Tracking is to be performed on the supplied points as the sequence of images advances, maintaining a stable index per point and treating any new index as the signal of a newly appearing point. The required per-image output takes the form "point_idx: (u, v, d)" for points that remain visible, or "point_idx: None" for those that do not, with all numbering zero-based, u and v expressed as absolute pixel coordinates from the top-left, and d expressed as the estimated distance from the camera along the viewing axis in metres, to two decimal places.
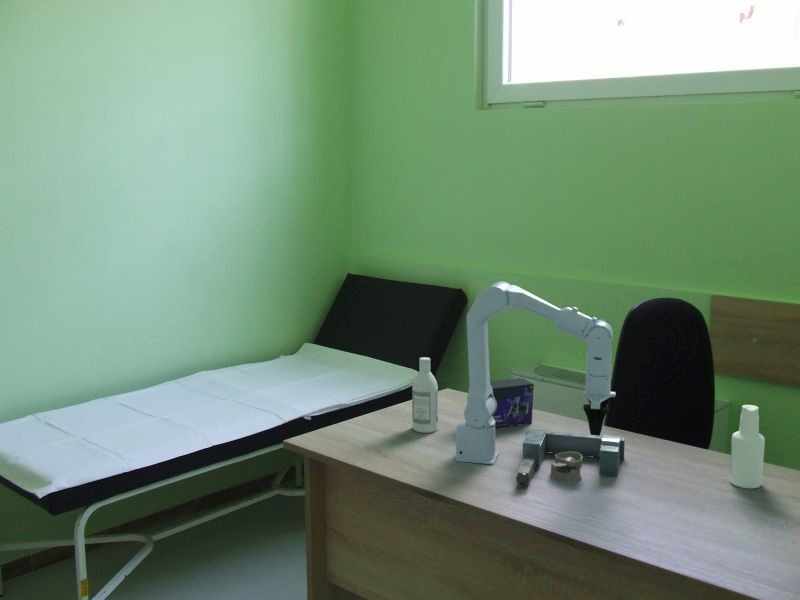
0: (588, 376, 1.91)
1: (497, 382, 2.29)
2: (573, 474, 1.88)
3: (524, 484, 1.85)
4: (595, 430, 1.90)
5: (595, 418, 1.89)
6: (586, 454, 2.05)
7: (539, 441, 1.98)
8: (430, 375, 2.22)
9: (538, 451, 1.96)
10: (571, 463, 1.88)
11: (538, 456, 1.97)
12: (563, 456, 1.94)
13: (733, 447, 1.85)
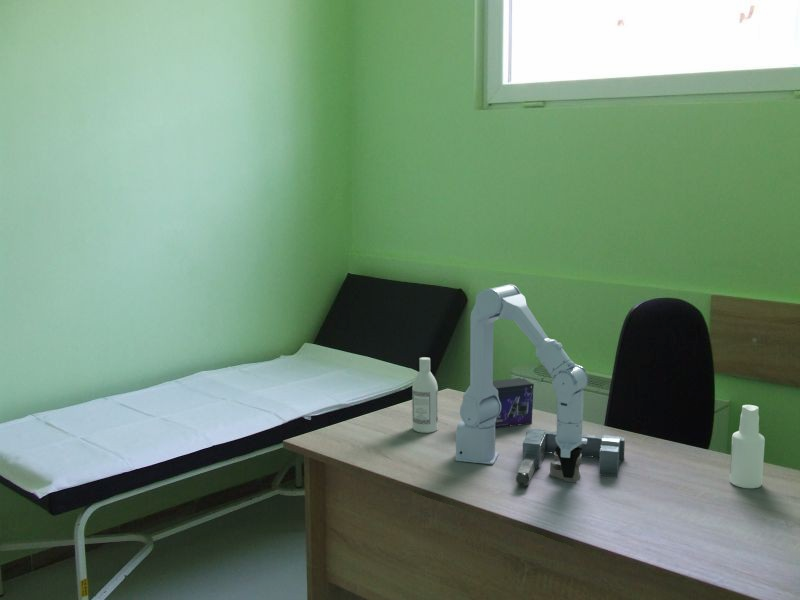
0: (559, 422, 1.85)
1: (497, 382, 2.29)
2: None
3: (524, 484, 1.85)
4: (568, 472, 1.88)
5: (568, 460, 1.87)
6: (586, 454, 2.05)
7: (539, 441, 1.98)
8: (430, 375, 2.22)
9: (538, 451, 1.96)
10: None
11: (538, 456, 1.97)
12: None
13: (733, 447, 1.85)
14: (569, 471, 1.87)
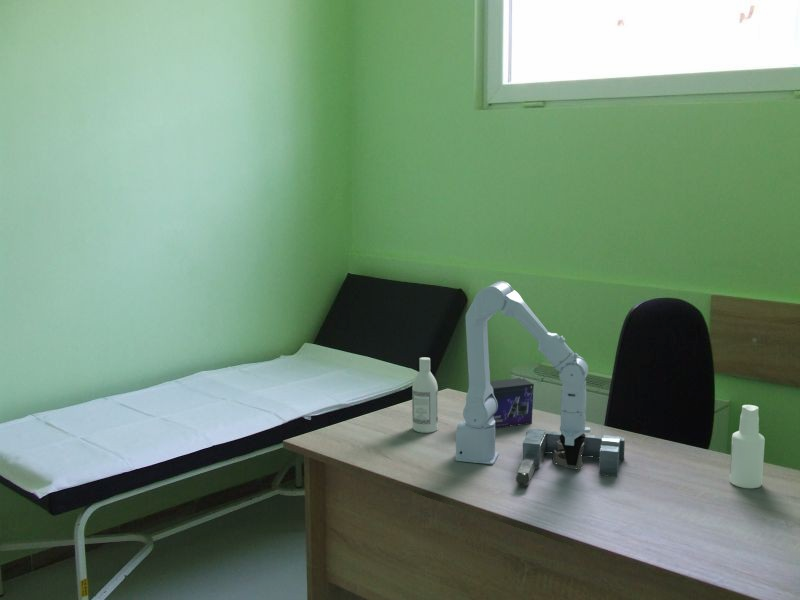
0: (563, 412, 1.92)
1: (497, 382, 2.29)
2: None
3: (524, 484, 1.85)
4: (571, 460, 1.95)
5: (571, 449, 1.95)
6: (586, 454, 2.05)
7: (539, 441, 1.98)
8: (430, 375, 2.22)
9: (538, 451, 1.96)
10: None
11: (538, 456, 1.97)
12: None
13: (733, 447, 1.85)
14: (573, 459, 1.95)
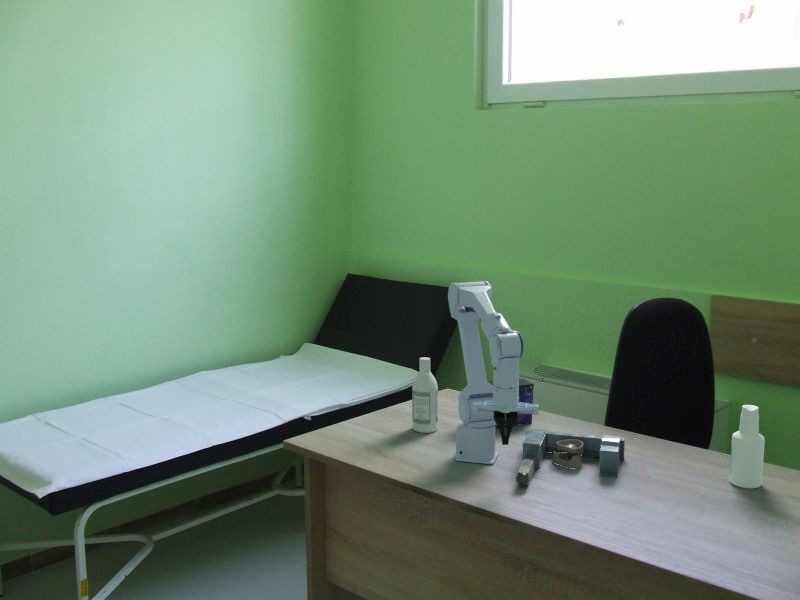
0: None
1: None
2: (575, 460, 1.97)
3: (524, 484, 1.85)
4: None
5: None
6: (586, 454, 2.05)
7: (539, 441, 1.98)
8: (430, 375, 2.22)
9: (538, 451, 1.96)
10: (573, 450, 1.97)
11: (538, 456, 1.97)
12: (564, 443, 2.02)
13: (733, 447, 1.85)
14: None
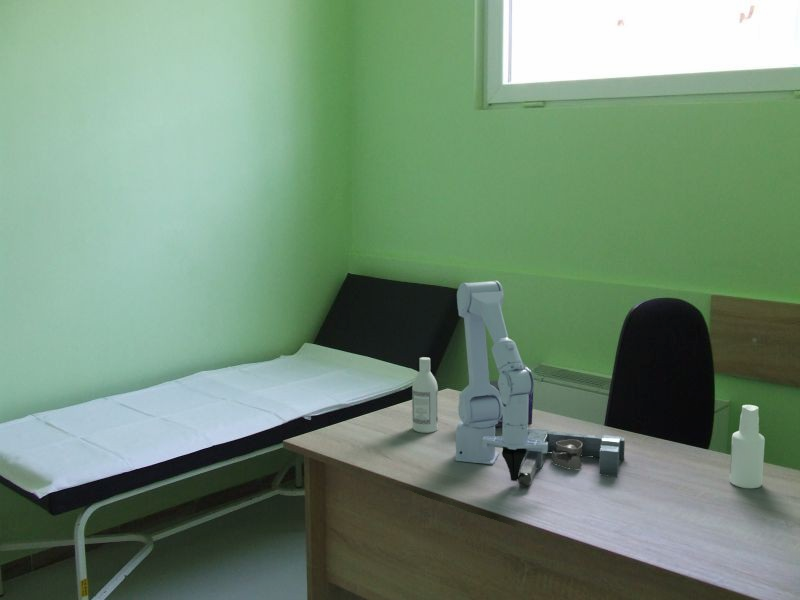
0: None
1: (497, 382, 2.29)
2: (574, 461, 1.96)
3: (526, 484, 1.85)
4: None
5: None
6: (586, 454, 2.05)
7: None
8: (430, 375, 2.22)
9: None
10: (572, 450, 1.96)
11: (540, 456, 1.96)
12: (563, 444, 2.02)
13: (733, 447, 1.85)
14: None
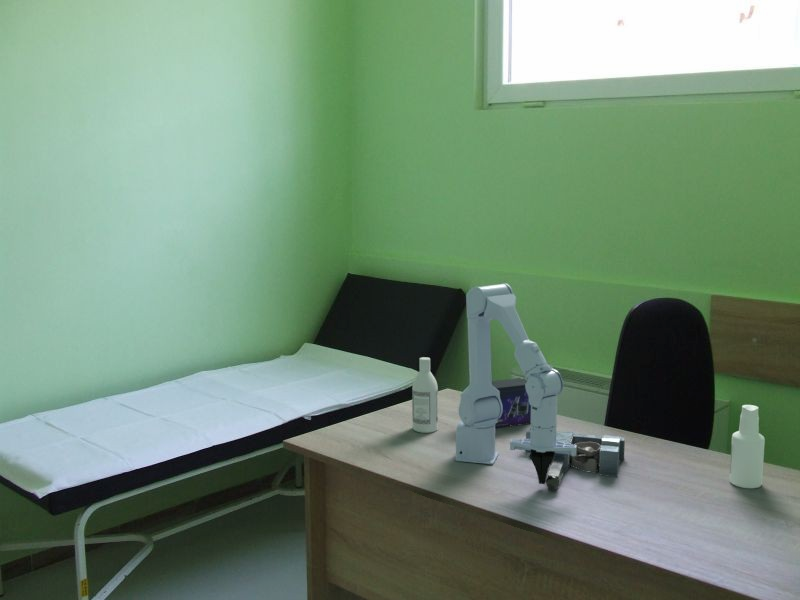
0: None
1: (497, 382, 2.29)
2: (591, 463, 1.95)
3: (554, 487, 1.83)
4: None
5: None
6: None
7: None
8: (430, 375, 2.22)
9: (567, 454, 1.94)
10: (589, 452, 1.95)
11: (567, 459, 1.95)
12: (582, 446, 2.00)
13: (733, 447, 1.85)
14: None
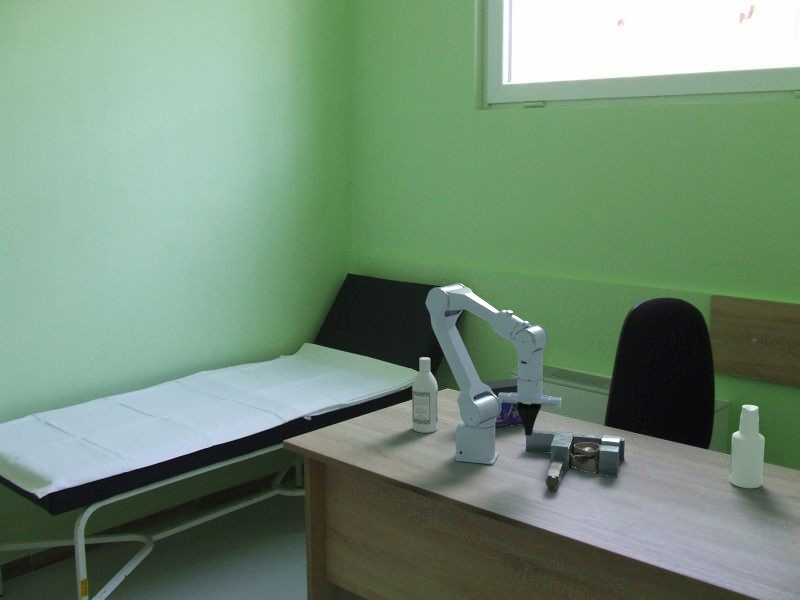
0: None
1: (497, 382, 2.29)
2: (590, 464, 1.94)
3: (554, 487, 1.83)
4: None
5: None
6: None
7: (567, 444, 1.96)
8: (430, 375, 2.22)
9: (566, 454, 1.94)
10: (589, 453, 1.95)
11: (566, 459, 1.95)
12: (582, 446, 2.00)
13: (733, 447, 1.85)
14: None
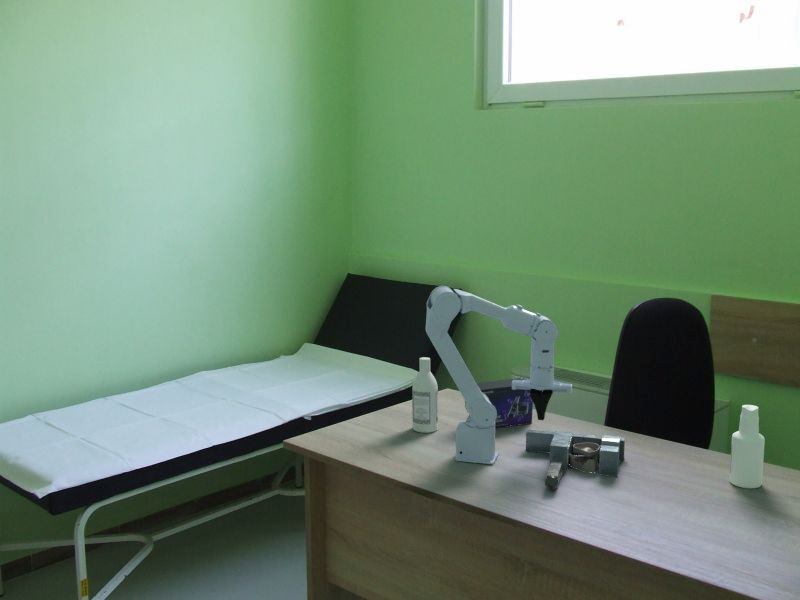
0: None
1: (497, 382, 2.29)
2: (590, 464, 1.94)
3: (553, 487, 1.83)
4: None
5: None
6: None
7: (566, 444, 1.96)
8: (430, 375, 2.22)
9: (566, 454, 1.94)
10: (588, 453, 1.94)
11: (566, 459, 1.95)
12: (581, 446, 2.00)
13: (733, 447, 1.85)
14: None
